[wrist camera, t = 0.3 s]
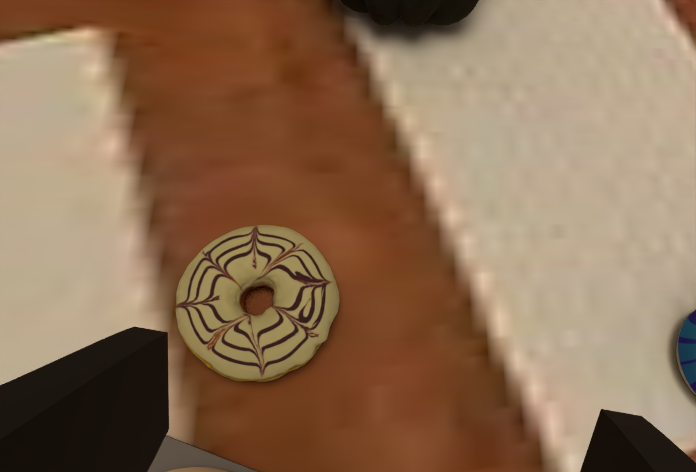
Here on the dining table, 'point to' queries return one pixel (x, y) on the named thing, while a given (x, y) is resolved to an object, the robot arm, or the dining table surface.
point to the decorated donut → (277, 321)
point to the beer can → (687, 351)
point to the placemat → (189, 458)
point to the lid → (199, 469)
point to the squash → (414, 10)
